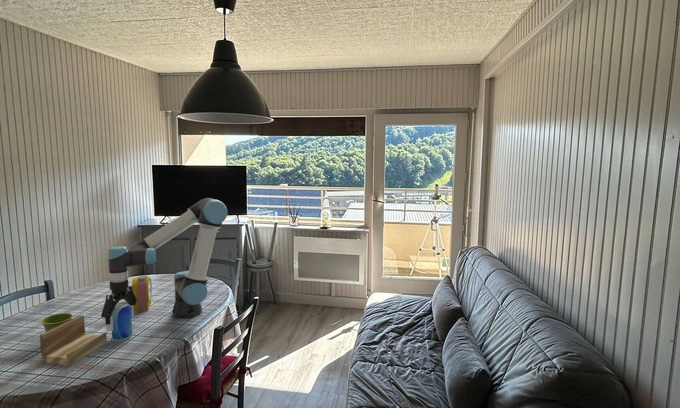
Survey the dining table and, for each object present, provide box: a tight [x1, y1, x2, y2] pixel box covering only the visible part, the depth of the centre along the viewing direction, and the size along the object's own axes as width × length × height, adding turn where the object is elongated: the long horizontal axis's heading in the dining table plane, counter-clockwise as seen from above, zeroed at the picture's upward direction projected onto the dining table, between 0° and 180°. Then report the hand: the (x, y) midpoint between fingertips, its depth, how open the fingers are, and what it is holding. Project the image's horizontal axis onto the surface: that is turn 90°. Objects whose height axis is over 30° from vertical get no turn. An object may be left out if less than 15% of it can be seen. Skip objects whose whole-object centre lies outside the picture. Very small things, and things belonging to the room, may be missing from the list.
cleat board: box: [39, 314, 108, 366], centre depth 165 cm, size 13×20×12 cm, turn 171°
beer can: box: [111, 302, 134, 342], centre depth 178 cm, size 8×8×16 cm
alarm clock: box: [131, 274, 153, 313], centre depth 214 cm, size 15×8×18 cm, turn 20°
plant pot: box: [40, 312, 74, 332], centre depth 174 cm, size 12×12×11 cm
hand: (120, 324), depth 178 cm, fingers open, 13 cm apart
